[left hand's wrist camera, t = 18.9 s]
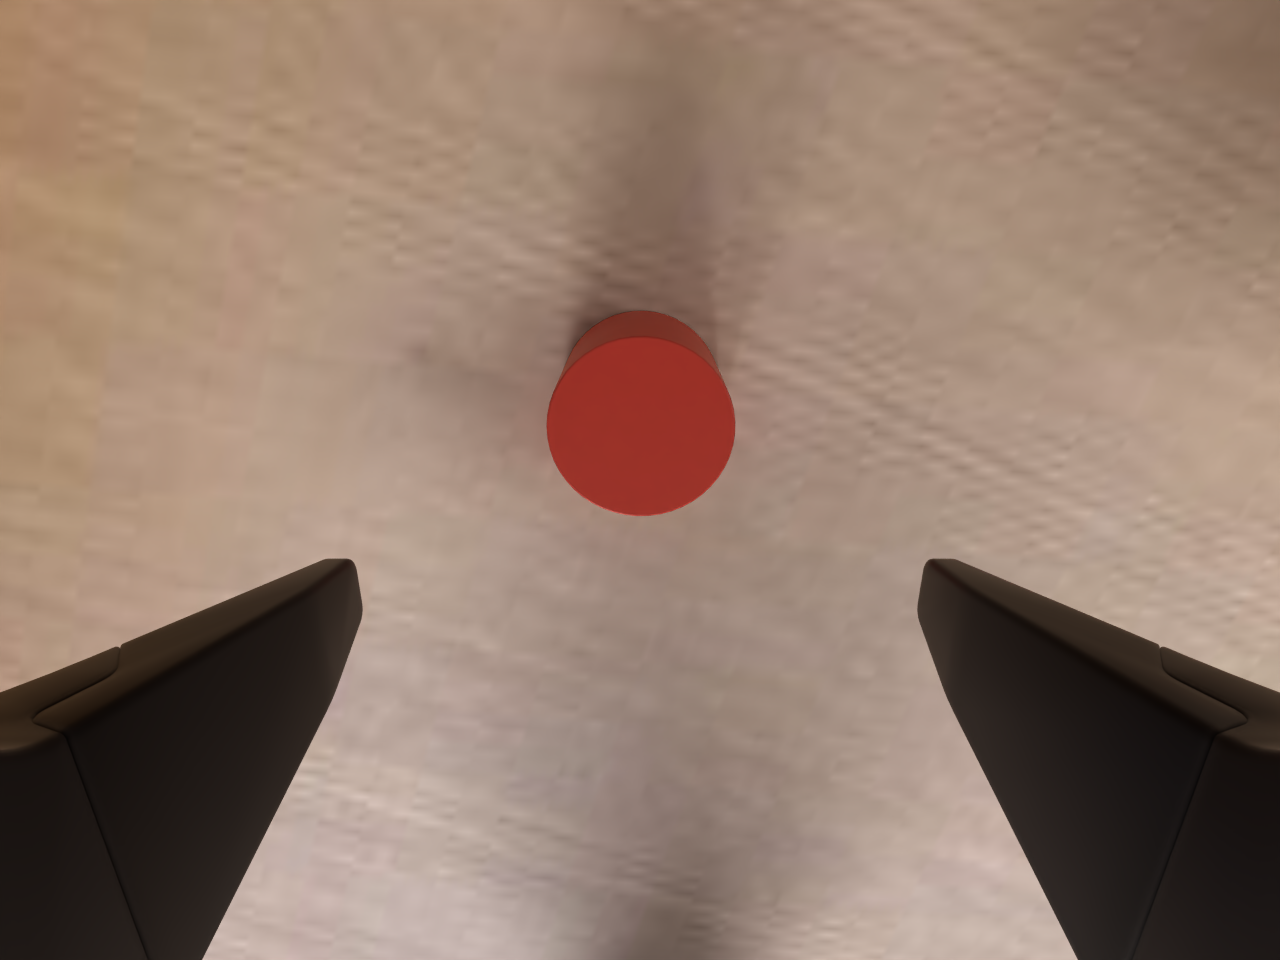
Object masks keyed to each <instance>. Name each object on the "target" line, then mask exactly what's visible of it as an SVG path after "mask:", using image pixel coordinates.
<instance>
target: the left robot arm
mask: <svg viewBox="0 0 1280 960" xmlns="http://www.w3.org/2000/svg"><path fill="white" fill-rule="evenodd" d="M362 611H363V609H362V600H361V593H360V587H359V581H358V575H357V570H356V566H355V564H354V562H353V561H352V560H350V559H324V560H322V561H319V562H317V563H315V564H312V565H310V566H307V567H305V568H303V569H300V570H298V571H295V572H293V573H291V574H288V575H286V576H284V577H281V578H279V579H276V580H274V581H272V582H269V583H267V584H264V585H262V586H260V587H257V588H255V589H252V590H250V591H248V592H245V593H243V594H241V595H238V596H236V597H233V598H231V599H229V600H226V601H224V602H221V603H219V604H217V605H214V606H212V607H210V608H207V609H205V610H202V611H200V612H198V613H195V614H193V615H190V616H188V617H186V618H183V619H181V620H178V621H176V622H174V623H171V624H169V625H167V626H164V627H162V628H159V629H157V630H155V631H152V632H150V633H147V634H145V635H143V636H140V637H138V638H136V639H133V640H131V641H128V642H126V643H124V644H122V645H121V647H120V648H119V647H114V648H111V649H109V650H107V651H104V652H102V653H99V654H97V655H95V656H92V657H90V658H87V659H85V660H82V661H80V662H77V663H75V664H73V665H70V666H68V667H65V668H63V669H60V670H58V671H55V672H53V673H50V674H48V675H45V676H42V677H40V678H37V679H35V680H32V681H29V682H27V683H24V684H21V685H19V686H16V687H14V688H11V689H8V690H6V691H3V692H0V960H202V959H203V957H204V955H205V953H206V951H207V949H208V947H209V945H210V943H211V941H212V939H213V937H214V935H215V933H216V931H217V929H218V927H219V925H220V923H221V921H222V919H223V917H224V915H225V913H226V911H227V909H228V907H229V905H230V903H231V901H232V899H233V897H234V895H235V893H236V891H237V889H238V887H239V885H240V883H241V881H242V879H243V877H244V875H245V873H246V871H247V869H248V867H249V865H250V863H251V861H252V859H253V857H254V855H255V853H256V851H257V849H258V847H259V845H260V843H261V841H262V839H263V837H264V835H265V833H266V831H267V829H268V827H269V825H270V823H271V821H272V819H273V817H274V815H275V813H276V811H277V809H278V807H279V805H280V803H281V801H282V799H283V797H284V795H285V793H286V791H287V789H288V787H289V785H290V783H291V781H292V779H293V777H294V775H295V773H296V771H297V769H298V767H299V765H300V763H301V761H302V759H303V757H304V755H305V753H306V751H307V749H308V747H309V745H310V744H311V742H312V740H313V738H314V736H315V734H316V732H317V730H318V728H319V726H320V724H321V722H322V720H323V718H324V716H325V714H326V712H327V709H328V707H329V705H330V703H331V701H332V699H333V696H334V694H335V691H336V689H337V686H338V683H339V681H340V678H341V675H342V672H343V669H344V667H345V664H346V661H347V658H348V655H349V653H350V650H351V647H352V644H353V641H354V639H355V636H356V633H357V630H358V627H359V625H360V622H361V618H362ZM917 611H918V618H919V622H920V625H921V627H922V630H923V633H924V636H925V639H926V641H927V644H928V647H929V650H930V653H931V655H932V658H933V661H934V664H935V667H936V669H937V672H938V675H939V678H940V681H941V683H942V686H943V689H944V691H945V694H946V696H947V699H948V701H949V703H950V705H951V707H952V709H953V712H954V714H955V716H956V718H957V720H958V722H959V724H960V726H961V728H962V730H963V732H964V734H965V736H966V738H967V740H968V742H969V744H970V745H971V747H972V749H973V751H974V753H975V755H976V757H977V759H978V761H979V763H980V765H981V767H982V769H983V771H984V773H985V775H986V777H987V779H988V781H989V783H990V785H991V787H992V789H993V791H994V793H995V795H996V797H997V799H998V801H999V803H1000V805H1001V807H1002V809H1003V811H1004V813H1005V815H1006V817H1007V819H1008V821H1009V823H1010V825H1011V827H1012V829H1013V831H1014V833H1015V835H1016V837H1017V839H1018V841H1019V843H1020V845H1021V847H1022V849H1023V851H1024V853H1025V855H1026V857H1027V859H1028V861H1029V863H1030V865H1031V867H1032V869H1033V871H1034V873H1035V875H1036V877H1037V879H1038V881H1039V883H1040V885H1041V887H1042V889H1043V891H1044V893H1045V895H1046V897H1047V899H1048V901H1049V903H1050V905H1051V907H1052V909H1053V911H1054V913H1055V915H1056V917H1057V919H1058V921H1059V923H1060V925H1061V927H1062V929H1063V931H1064V933H1065V935H1066V937H1067V939H1068V941H1069V943H1070V945H1071V947H1072V949H1073V951H1074V953H1075V955H1076V957H1077V959H1078V960H1280V692H1277V691H1274V690H1272V689H1269V688H1266V687H1264V686H1261V685H1259V684H1256V683H1253V682H1251V681H1248V680H1245V679H1243V678H1240V677H1238V676H1235V675H1232V674H1230V673H1227V672H1225V671H1222V670H1220V669H1217V668H1215V667H1212V666H1210V665H1207V664H1205V663H1203V662H1200V661H1198V660H1195V659H1193V658H1190V657H1188V656H1185V655H1183V654H1181V653H1178V652H1176V651H1173V650H1171V649H1169V648H1166V647H1161V648H1160V647H1159V645H1158V644H1156V643H1154V642H1152V641H1149V640H1147V639H1144V638H1142V637H1140V636H1137V635H1135V634H1133V633H1130V632H1128V631H1125V630H1123V629H1121V628H1118V627H1116V626H1113V625H1111V624H1109V623H1106V622H1104V621H1102V620H1099V619H1097V618H1094V617H1092V616H1090V615H1087V614H1085V613H1082V612H1080V611H1078V610H1075V609H1073V608H1070V607H1068V606H1066V605H1063V604H1061V603H1059V602H1056V601H1054V600H1051V599H1049V598H1047V597H1044V596H1042V595H1039V594H1037V593H1035V592H1032V591H1030V590H1028V589H1025V588H1023V587H1020V586H1018V585H1016V584H1013V583H1011V582H1008V581H1006V580H1004V579H1001V578H999V577H996V576H994V575H992V574H989V573H987V572H985V571H982V570H980V569H977V568H975V567H973V566H970V565H968V564H965V563H963V562H961V561H958V560H956V559H930V560H928V561H927V562H926V564H925V566H924V570H923V575H922V581H921V587H920V593H919V600H918V609H917Z"/></svg>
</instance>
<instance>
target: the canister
mask: <svg viewBox="0 0 1280 960" xmlns="http://www.w3.org/2000/svg"><path fill="white" fill-rule="evenodd" d="M734 436H735V416H734V409H733V405H732V401H731V398H730V395H729V393H728V390H727V388H726V386H725V383H724V381H723V379H722V377H721V374H720V372H719V370H718V368H717V365H716V363H715V361H714V359H713V356H712V354H711V352H710V351H709V349H708V347H707V346H706V344H705V343H704V342H703V340H702V339H701V338H700V337H699V336H698V335H697V334H696V333H695V332H694V331H693V330H692V329H691V328H689V327H688V326H687V325H685V324H684V323H682V322H680V321H679V320H677V319H675V318H673V317H670V316H667V315H665V314H661V313H657V312H650V311H631V312H625V313H621V314H617V315H614V316H611V317H609V318H607V319H605V320H603V321H601V322H600V323H598V324H596V325H595V326H593V327H592V328H591V329H590V330H589V331H587V332H586V333H585V334H584V335H583V336H582V338H581V339H580V340H579V341H578V342H577V344H576V345H575V347H574V348H573V350H572V352H571V354H570V356H569V358H568V360H567V362H566V365H565V367H564V369H563V372H562V374H561V376H560V378H559V381H558V383H557V385H556V387H555V390H554V392H553V395H552V398H551V401H550V404H549V409H548V414H547V438H548V443H549V447H550V451H551V454H552V457H553V459H554V462H555V464H556V466H557V468H558V469H559V471H560V473H561V474H562V476H563V477H564V478H565V480H566V481H567V482H568V483H569V484H570V486H571V487H572V488H573V489H574V490H575V491H577V492H578V493H579V494H580V495H581V496H582V497H584V498H585V499H587V500H588V501H590V502H591V503H593V504H595V505H597V506H599V507H601V508H603V509H606V510H609V511H612V512H615V513H619V514H624V515H632V516H651V515H658V514H663V513H666V512H670V511H673V510H676V509H678V508H681V507H683V506H685V505H687V504H688V503H690V502H692V501H694V500H695V499H696V498H698V497H699V496H701V495H702V494H703V493H704V492H705V491H706V490H707V489H709V488H710V487H711V486H712V484H713V483H714V482H715V481H716V480H717V478H718V477H719V476H720V474H721V472H722V471H723V469H724V468H725V466H726V463H727V461H728V459H729V457H730V454H731V450H732V447H733V442H734Z"/></svg>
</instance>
